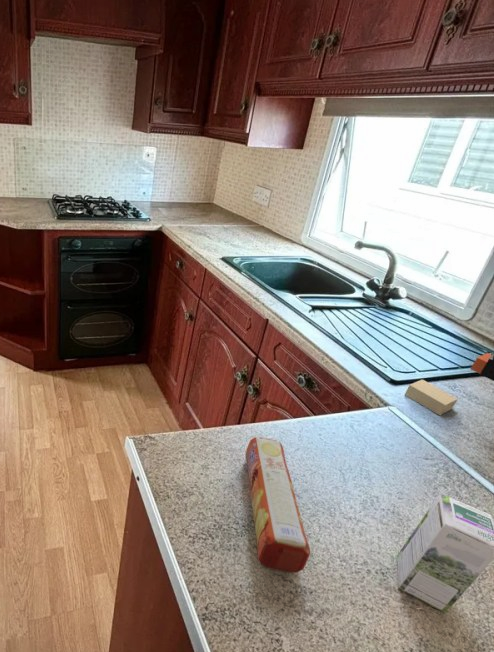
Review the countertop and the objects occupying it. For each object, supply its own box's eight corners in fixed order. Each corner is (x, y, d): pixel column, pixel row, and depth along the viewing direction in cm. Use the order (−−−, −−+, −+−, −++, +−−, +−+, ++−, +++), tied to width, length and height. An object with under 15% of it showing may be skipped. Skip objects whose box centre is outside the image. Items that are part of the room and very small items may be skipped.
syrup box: (440, 577, 58) (492, 511, 52) (446, 616, 54) (503, 549, 47) (395, 555, 61) (439, 489, 54) (397, 590, 56) (445, 523, 50)
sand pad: (452, 408, 96) (458, 398, 94) (439, 415, 93) (445, 405, 92) (417, 388, 102) (422, 379, 101) (404, 394, 99) (409, 384, 98)
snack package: (241, 456, 76) (250, 429, 73) (277, 464, 75) (288, 436, 72) (253, 569, 57) (265, 538, 54) (301, 581, 56) (317, 551, 53)
